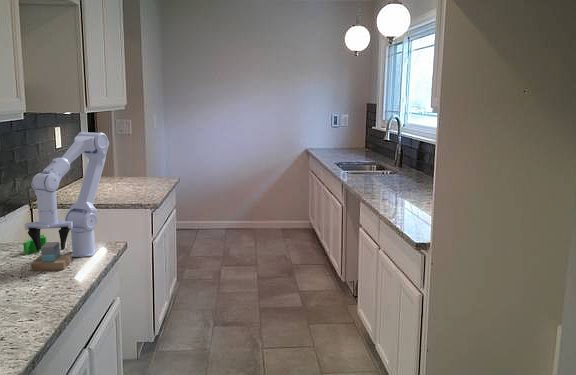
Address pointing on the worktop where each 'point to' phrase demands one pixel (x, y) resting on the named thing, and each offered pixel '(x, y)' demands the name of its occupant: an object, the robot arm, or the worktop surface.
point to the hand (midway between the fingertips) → (51, 249)
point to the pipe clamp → (33, 245)
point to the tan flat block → (51, 263)
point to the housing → (50, 252)
